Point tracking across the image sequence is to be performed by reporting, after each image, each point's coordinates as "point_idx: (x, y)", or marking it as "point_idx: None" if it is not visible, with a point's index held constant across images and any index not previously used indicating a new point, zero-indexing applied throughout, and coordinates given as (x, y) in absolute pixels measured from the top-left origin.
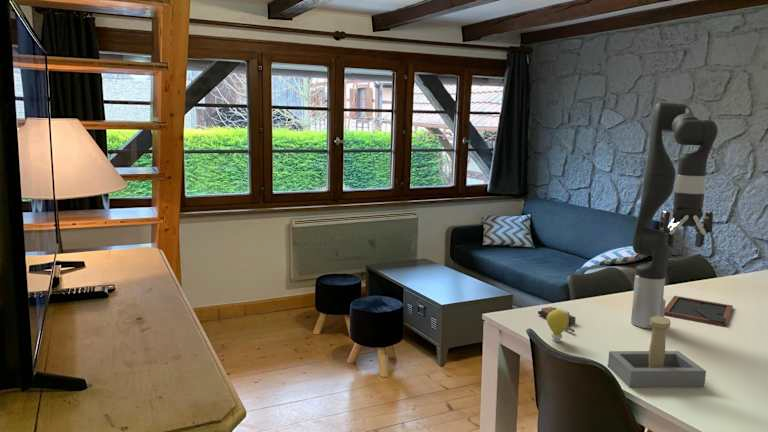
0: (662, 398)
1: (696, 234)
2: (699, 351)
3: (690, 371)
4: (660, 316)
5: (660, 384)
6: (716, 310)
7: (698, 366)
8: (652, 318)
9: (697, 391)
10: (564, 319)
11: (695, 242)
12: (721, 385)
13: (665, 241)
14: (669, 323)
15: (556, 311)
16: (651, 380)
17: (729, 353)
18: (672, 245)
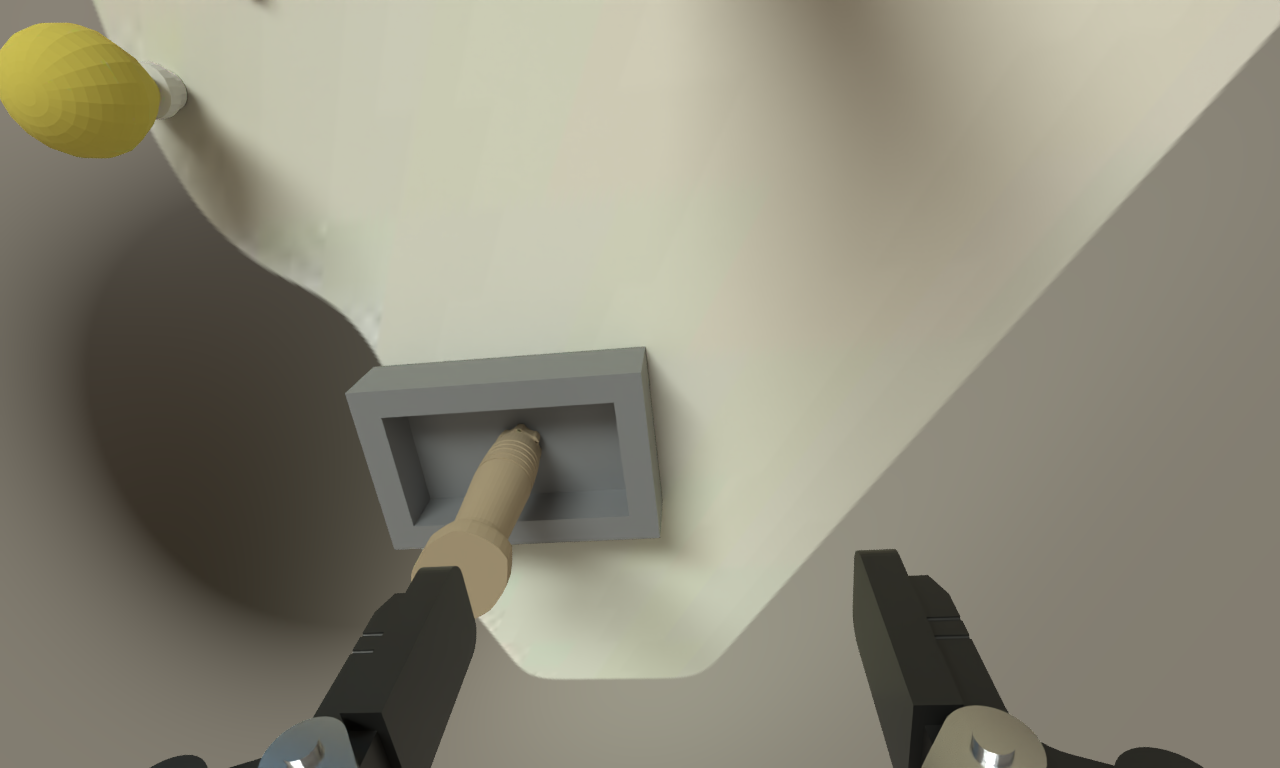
0: None
1: (907, 700)
2: (836, 175)
3: (603, 538)
4: (476, 535)
5: None
6: None
7: (650, 507)
8: (427, 562)
9: None
10: (102, 149)
11: (869, 581)
12: (729, 487)
13: (370, 635)
14: (492, 605)
15: (20, 113)
16: None
17: (974, 188)
18: (466, 658)
